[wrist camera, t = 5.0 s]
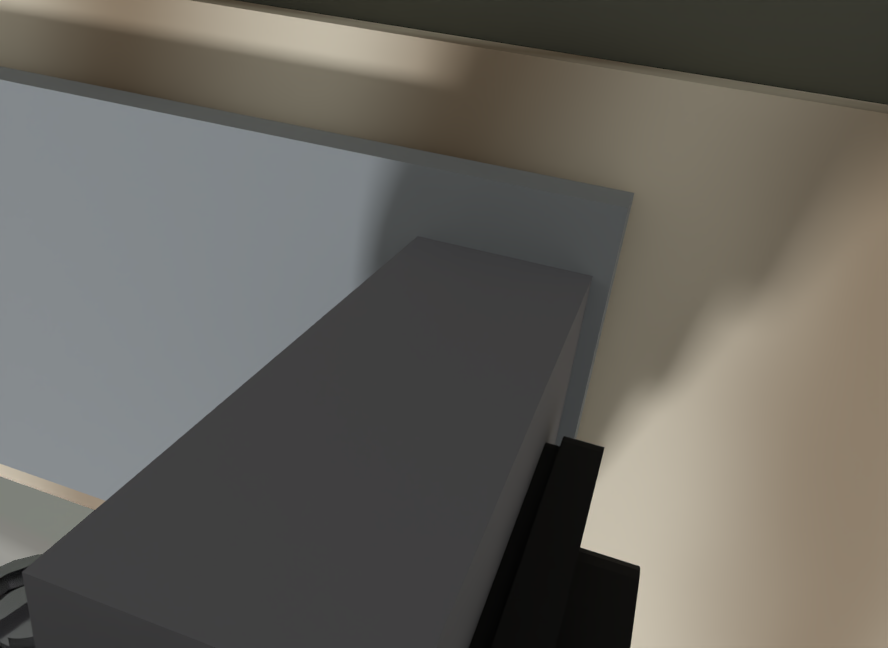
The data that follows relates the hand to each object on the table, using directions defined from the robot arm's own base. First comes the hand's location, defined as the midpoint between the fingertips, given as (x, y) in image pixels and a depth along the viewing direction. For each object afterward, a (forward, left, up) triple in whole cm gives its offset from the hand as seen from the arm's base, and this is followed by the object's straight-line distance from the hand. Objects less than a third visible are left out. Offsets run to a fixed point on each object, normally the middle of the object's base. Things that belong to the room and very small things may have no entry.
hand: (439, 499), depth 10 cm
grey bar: (+10, 0, -2) cm, 10 cm away
